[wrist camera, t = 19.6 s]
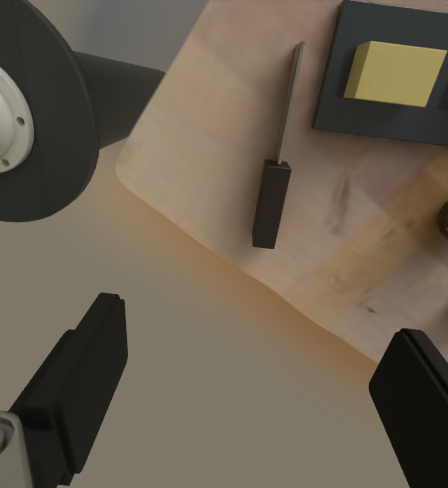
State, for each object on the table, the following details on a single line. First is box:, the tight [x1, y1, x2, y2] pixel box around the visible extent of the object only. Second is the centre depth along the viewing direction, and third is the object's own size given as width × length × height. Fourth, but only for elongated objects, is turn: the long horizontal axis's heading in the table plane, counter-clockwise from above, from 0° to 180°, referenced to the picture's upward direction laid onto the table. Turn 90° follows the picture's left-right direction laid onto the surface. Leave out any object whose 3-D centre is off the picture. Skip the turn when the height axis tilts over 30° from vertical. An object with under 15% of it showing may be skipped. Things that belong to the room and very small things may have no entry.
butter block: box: [344, 41, 447, 107], centre depth 25 cm, size 6×4×3 cm, turn 84°
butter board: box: [312, 0, 448, 146], centre depth 27 cm, size 16×10×1 cm, turn 84°
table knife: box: [252, 41, 305, 249], centre depth 29 cm, size 2×19×3 cm, turn 174°
